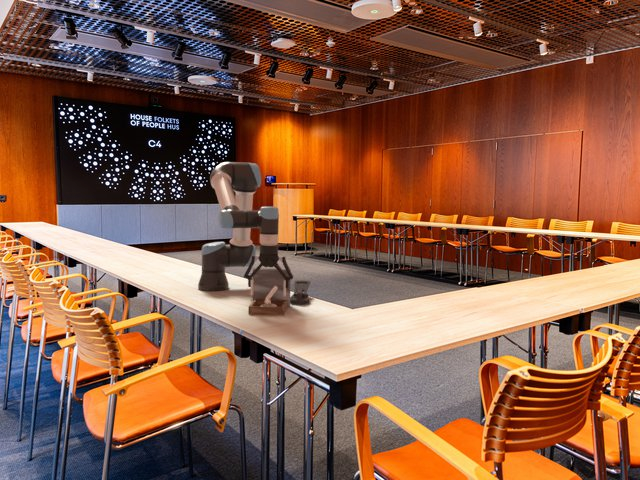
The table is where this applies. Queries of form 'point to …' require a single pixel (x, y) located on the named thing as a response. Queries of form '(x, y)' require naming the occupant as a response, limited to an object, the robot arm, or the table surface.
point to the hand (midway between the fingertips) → (268, 295)
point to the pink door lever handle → (267, 300)
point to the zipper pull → (300, 293)
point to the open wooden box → (263, 287)
